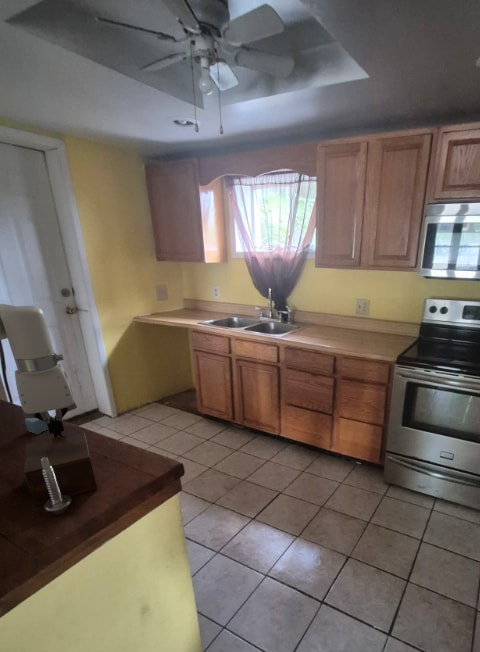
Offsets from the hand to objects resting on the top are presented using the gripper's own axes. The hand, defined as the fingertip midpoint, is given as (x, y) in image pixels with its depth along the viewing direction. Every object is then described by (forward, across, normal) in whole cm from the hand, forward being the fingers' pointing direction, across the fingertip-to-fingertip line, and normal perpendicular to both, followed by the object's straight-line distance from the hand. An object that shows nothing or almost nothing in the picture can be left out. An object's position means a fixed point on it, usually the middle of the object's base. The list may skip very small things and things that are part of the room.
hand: (58, 434), depth 90 cm
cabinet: (+8, 0, +10) cm, 13 cm away
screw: (+8, +2, +21) cm, 22 cm away
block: (+7, +6, -23) cm, 25 cm away
